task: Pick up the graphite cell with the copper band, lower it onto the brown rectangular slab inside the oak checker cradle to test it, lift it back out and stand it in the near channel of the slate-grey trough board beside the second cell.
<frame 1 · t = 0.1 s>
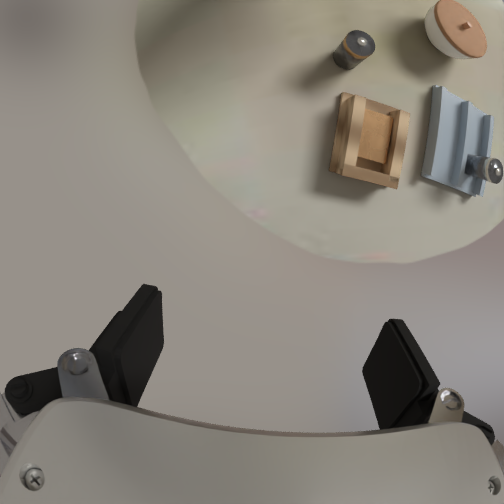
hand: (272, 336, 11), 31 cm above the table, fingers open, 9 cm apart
cell a: (345, 58, 31), on the table
lidded jar: (439, 38, 26), on the table
brown rectangular slab: (374, 136, 33), point 3 cm above the table, slide at 0.0 cm
cell b: (468, 164, 34), point 1 cm above the table, touching trough board
cradle: (367, 139, 35), on the table
trough board: (456, 142, 33), on the table
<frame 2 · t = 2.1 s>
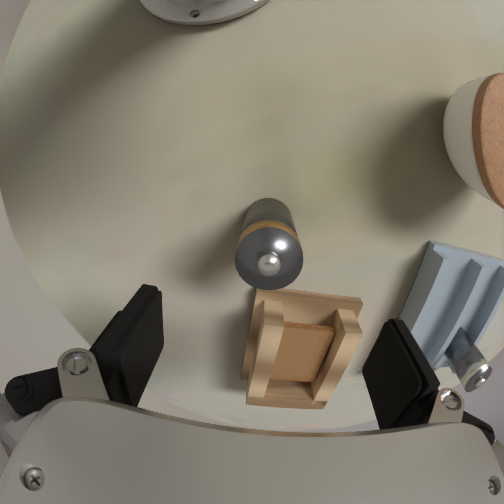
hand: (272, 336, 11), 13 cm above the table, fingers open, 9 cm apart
cell a: (268, 221, 22), on the table
lidded jar: (464, 134, 18), on the table
brown rectangular slab: (299, 354, 25), point 3 cm above the table, slide at 0.0 cm
cell b: (452, 338, 26), point 1 cm above the table, touching trough board
cradle: (296, 340, 27), on the table
trough board: (443, 313, 25), on the table
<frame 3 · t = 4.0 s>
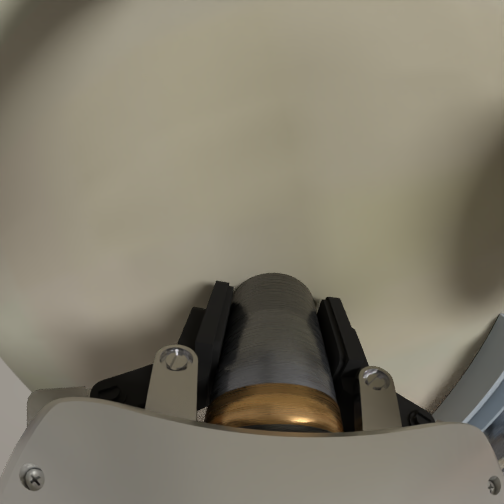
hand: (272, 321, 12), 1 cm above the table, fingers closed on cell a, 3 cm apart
cell a: (272, 310, 12), on the table, touching gripper
cell b: (491, 410, 15), point 1 cm above the table, touching trough board
trough board: (489, 387, 15), on the table
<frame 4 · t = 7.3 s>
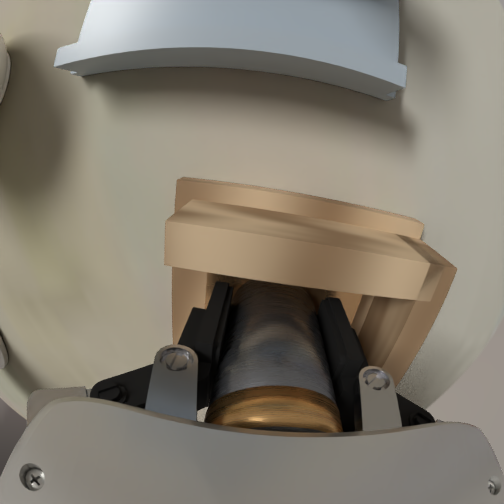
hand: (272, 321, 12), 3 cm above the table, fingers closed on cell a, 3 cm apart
cell a: (272, 311, 12), point 2 cm above the table, touching gripper, brown rectangular slab
brown rectangular slab: (281, 307, 13), point 2 cm above the table, slide at -0.6 cm, touching cell a
cradle: (289, 288, 14), on the table
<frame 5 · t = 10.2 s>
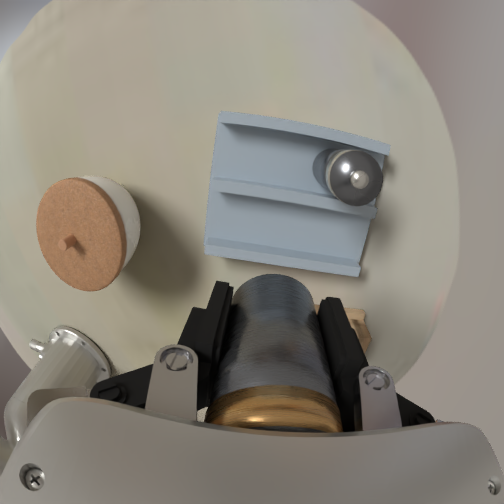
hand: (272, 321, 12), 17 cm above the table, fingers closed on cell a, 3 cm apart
cell a: (272, 311, 12), point 16 cm above the table, touching gripper
lidded jar: (114, 215, 28), on the table
cell b: (332, 168, 24), point 1 cm above the table, touching trough board
cradle: (305, 338, 32), on the table
trough board: (294, 192, 26), on the table
when the fingers open (3 cm above the table, at t = 12.4 s): cell a drops 1 cm, resting on trough board.
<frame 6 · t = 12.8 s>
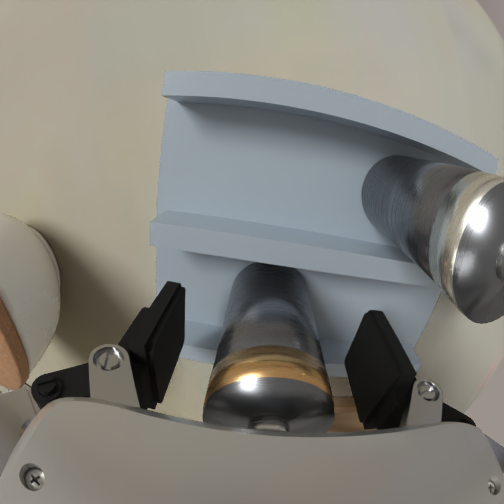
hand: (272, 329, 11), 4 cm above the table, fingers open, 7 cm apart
cell a: (269, 294, 14), point 1 cm above the table, touching trough board
lidded jar: (34, 263, 15), on the table
cell b: (397, 195, 11), point 1 cm above the table, touching trough board
cradle: (320, 429, 20), on the table
trough board: (321, 237, 13), on the table
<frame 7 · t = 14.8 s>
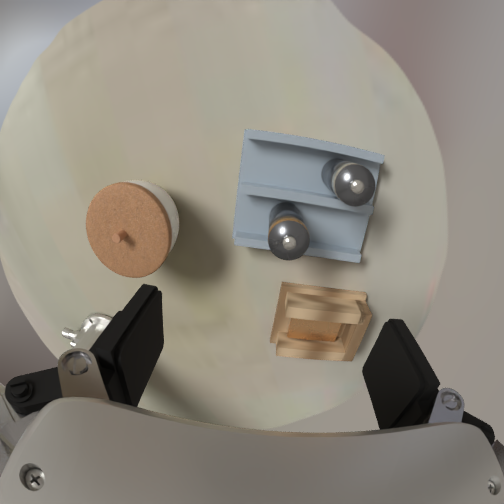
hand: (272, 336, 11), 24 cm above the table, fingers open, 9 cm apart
cell a: (285, 218, 32), point 1 cm above the table, touching trough board
lidded jar: (152, 213, 34), on the table
brown rectangular slab: (315, 325, 36), point 2 cm above the table, slide at -0.5 cm
cell b: (337, 174, 29), point 1 cm above the table, touching trough board
cradle: (316, 317, 38), on the table
trough board: (306, 193, 32), on the table
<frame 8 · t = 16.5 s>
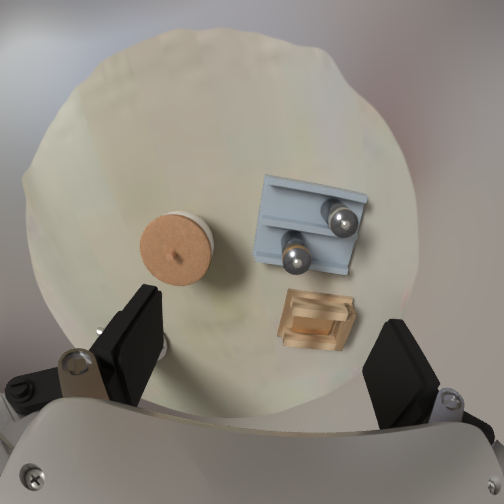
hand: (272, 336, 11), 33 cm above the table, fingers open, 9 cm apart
cell a: (292, 241, 43), point 1 cm above the table, touching trough board
lidded jar: (188, 234, 45), on the table
brown rectangular slab: (313, 322, 47), point 2 cm above the table, slide at -0.5 cm
cell b: (332, 210, 41), point 1 cm above the table, touching trough board
cradle: (314, 316, 49), on the table
trough board: (308, 223, 43), on the table
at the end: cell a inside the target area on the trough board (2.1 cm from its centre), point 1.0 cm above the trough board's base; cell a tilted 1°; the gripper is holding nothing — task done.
